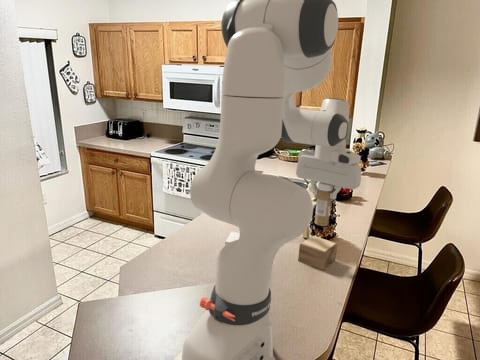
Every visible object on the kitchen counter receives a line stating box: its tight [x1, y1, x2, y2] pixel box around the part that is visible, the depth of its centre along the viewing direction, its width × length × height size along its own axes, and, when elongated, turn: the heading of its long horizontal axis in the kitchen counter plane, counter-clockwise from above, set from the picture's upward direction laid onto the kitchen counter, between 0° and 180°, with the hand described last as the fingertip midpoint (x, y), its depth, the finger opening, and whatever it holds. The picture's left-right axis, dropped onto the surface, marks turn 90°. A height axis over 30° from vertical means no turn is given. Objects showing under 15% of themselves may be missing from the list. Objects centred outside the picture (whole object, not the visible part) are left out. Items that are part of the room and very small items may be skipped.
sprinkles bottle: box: [314, 182, 334, 227], centre depth 113 cm, size 5×5×14 cm
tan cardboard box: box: [297, 235, 338, 271], centre depth 118 cm, size 9×9×6 cm
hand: (324, 196), depth 113 cm, fingers closed on sprinkles bottle, 4 cm apart
